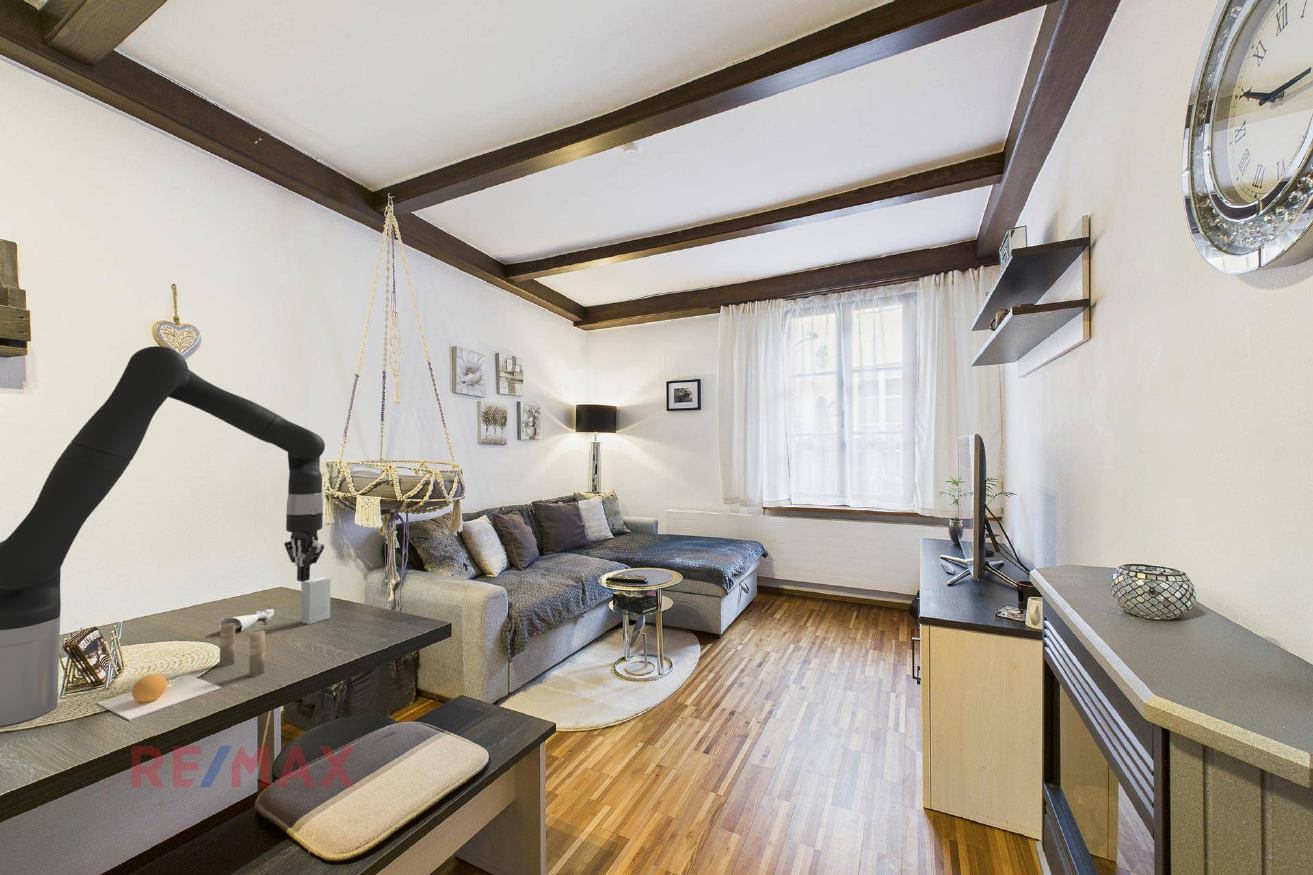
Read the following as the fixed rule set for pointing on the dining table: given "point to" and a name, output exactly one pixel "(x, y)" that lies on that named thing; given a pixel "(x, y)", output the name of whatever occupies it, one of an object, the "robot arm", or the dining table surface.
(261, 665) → the right post
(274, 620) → the dining table surface
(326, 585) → the skincare box
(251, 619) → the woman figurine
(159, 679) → the brown egg
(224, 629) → the left post
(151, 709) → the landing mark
